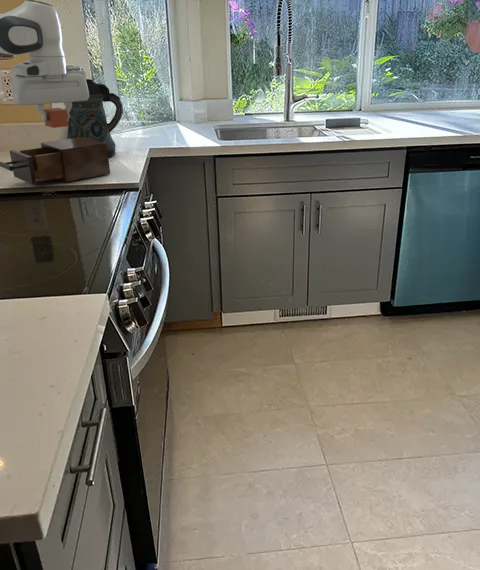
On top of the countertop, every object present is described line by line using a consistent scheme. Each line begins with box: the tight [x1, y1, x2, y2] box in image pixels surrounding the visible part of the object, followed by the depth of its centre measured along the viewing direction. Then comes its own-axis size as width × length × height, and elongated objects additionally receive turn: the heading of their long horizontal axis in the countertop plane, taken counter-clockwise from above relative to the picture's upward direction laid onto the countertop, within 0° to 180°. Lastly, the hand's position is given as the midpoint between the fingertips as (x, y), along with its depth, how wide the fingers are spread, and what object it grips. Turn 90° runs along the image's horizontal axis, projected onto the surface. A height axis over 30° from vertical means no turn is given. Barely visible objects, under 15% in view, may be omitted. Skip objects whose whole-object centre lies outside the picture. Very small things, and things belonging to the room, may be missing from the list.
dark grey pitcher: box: [66, 78, 124, 159], centre depth 202 cm, size 16×19×25 cm
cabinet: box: [40, 137, 111, 183], centre depth 182 cm, size 15×13×10 cm
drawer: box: [0, 146, 64, 185], centre depth 173 cm, size 18×11×8 cm, turn 139°
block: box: [42, 107, 68, 129], centre depth 165 cm, size 4×4×4 cm
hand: (55, 119), depth 165 cm, fingers closed on block, 4 cm apart
